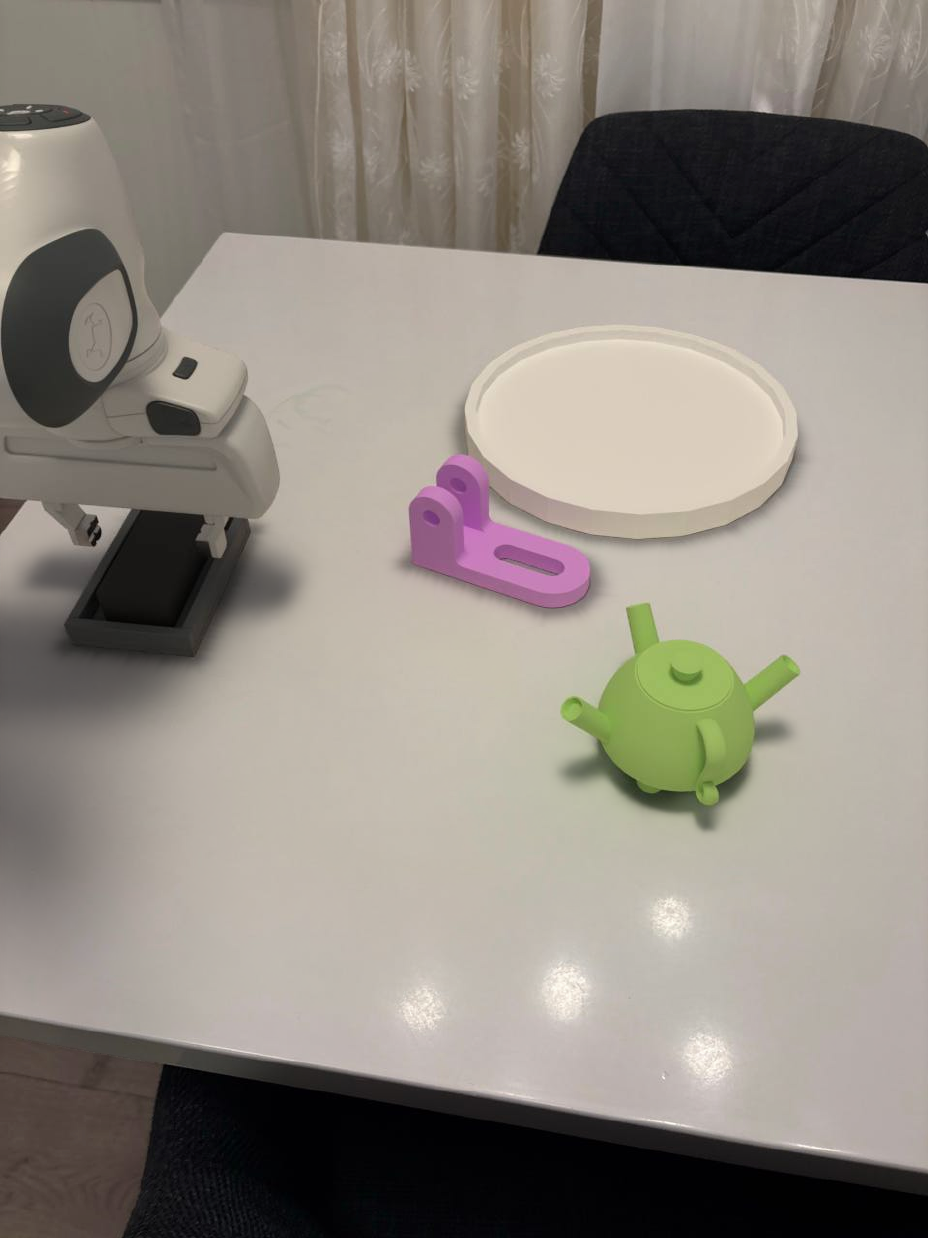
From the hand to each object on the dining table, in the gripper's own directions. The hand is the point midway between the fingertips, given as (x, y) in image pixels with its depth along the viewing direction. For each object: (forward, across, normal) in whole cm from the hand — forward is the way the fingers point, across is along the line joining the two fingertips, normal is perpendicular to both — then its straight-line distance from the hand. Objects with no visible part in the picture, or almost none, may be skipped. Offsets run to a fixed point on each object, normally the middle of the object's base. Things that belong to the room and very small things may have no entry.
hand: (150, 546), depth 75 cm
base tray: (+4, 0, 0) cm, 4 cm away
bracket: (+4, +25, +6) cm, 26 cm away
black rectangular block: (+4, 0, 0) cm, 4 cm away
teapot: (+4, +37, -10) cm, 39 cm away
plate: (+4, +33, +24) cm, 41 cm away
